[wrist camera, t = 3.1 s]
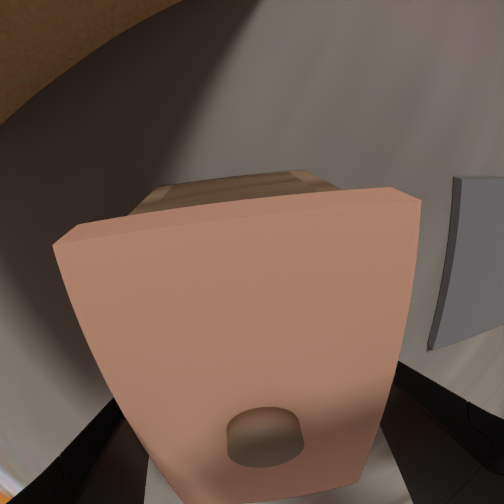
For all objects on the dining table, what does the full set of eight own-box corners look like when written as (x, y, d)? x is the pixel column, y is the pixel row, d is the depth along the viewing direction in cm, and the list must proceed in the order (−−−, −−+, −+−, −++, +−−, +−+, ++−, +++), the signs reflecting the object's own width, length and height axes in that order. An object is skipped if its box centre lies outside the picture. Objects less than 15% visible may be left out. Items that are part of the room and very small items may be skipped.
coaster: (547, 178, 12) (554, 181, 11) (521, 309, 15) (526, 313, 15) (453, 176, 11) (461, 179, 11) (427, 343, 15) (432, 350, 14)
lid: (91, 214, 7) (33, 260, 4) (374, 180, 7) (443, 211, 4) (187, 466, 11) (185, 520, 8) (344, 445, 11) (362, 496, 8)
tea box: (156, 187, 11) (117, 225, 6) (304, 169, 11) (354, 196, 7) (203, 393, 14) (202, 469, 10) (308, 379, 15) (331, 451, 10)
